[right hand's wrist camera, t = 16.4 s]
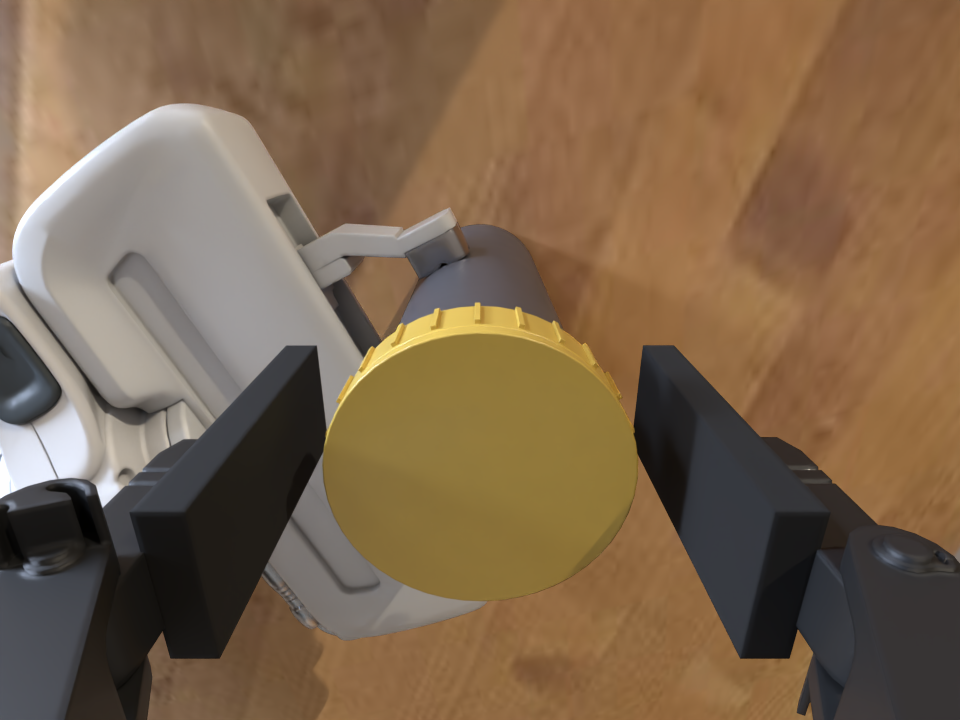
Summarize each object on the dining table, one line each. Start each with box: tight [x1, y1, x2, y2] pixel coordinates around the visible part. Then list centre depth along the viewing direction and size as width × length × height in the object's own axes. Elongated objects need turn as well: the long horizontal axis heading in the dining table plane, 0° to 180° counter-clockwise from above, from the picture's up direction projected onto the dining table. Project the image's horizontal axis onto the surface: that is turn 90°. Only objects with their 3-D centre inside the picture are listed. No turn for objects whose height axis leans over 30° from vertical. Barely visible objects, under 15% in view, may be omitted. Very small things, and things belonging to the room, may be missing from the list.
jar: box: [399, 224, 564, 331], centre depth 18 cm, size 5×5×15 cm
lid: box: [322, 303, 638, 601], centre depth 11 cm, size 6×6×2 cm
